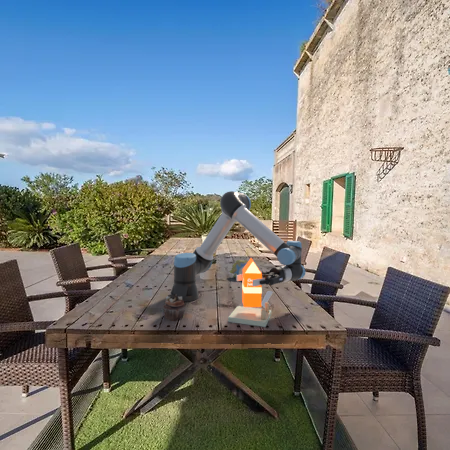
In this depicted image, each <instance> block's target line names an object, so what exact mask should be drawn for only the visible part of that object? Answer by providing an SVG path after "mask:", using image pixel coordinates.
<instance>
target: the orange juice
mask: <svg viewBox="0 0 450 450" xmlns="http://www.w3.org/2000/svg"><path fill="white" fill-rule="evenodd" d="M247 261H248V263H247V264H246V265H245V267H244V268H243V280H242V283H241V284H242V285H241V289H242V292H241V302H242V306H243V307H252V308H256V307H260V308H262V306H261V301H262V293H263V291H262V290H263V289H262V288H263V285H259V286H253V280H254V279H262V278H263V276H262V273H261V272H260V271H261V270H260V269H259V267H258V266H257V264H256V262H254V259H253V258H252V257H250V258H249V260H247Z"/></svg>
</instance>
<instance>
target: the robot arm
mask: <svg viewBox="0 0 450 450" xmlns="http://www.w3.org/2000/svg"><path fill="white" fill-rule="evenodd" d="M220 197H221V198H220V200H219V205H220V209H221V214H220V216H219V217H218V219H217V221H216V222H215V223H214V225H213V226H212V228H211V230H210V231H209V233H208V234H207V236H206V237H205V238H204V240H203V242H202V243H201V245H200V246H196V248H195V250H194V251H193V252H182V253H179V254H178V253H177V254H176V255H175V256H174V258H173V259H174V260H173V285H172V287H171V290H170V294H169V295H173V296H174V294H177V296H181V297H182V300H183V301H184V302H193V301H195V300H198V299H199V290H198V287H197V283H196V280H197V279H196V278H197V277H196V276H197V275H200V274H205V272H208V270H209V269H211V267H212V264H213V260H214V254H215V253H216V251H217V250H218V248H219V246H220V245H221V243H222V242H223V240H224V239H225V238H226V236H227V235H228V233H229V231H230V230H231V229H232V228H233V225H234V224H235V222H238V223H239V224H240V225H241V226H242V227H243V228H244V229H245V230H247V231H248V233H250V234H251V235H252V236H253V237H255V239H257V240H258V241H259V243H261V244H262V245H263V246H264V248H266V249H268V250H269V251H270V252H271V253H272V254H273V255H275V257H276V258H277V262H278V263H280V264H281V265H283V266H276V267H271V268H270V269H269V271H263V270H260V272H261V273H262V279H254V280H253V286H259V285H262V286H264V285H269V286H274V285H276V284H281V283H283V284H285V283H286V282H291V281H292V282H293V281H298V280H301V279H303V278H304V277H305V276H306V273H307V272H306V269H305V266H304V265H302V253H303V251H302V250H303V247H302V242H301V241H299V240H287V241H284V240H283V239H282V238H281V237H279V236H278V234H276V233H275V232H274V231H273V230H272V229H270V227H268V226H267V225H266V224H265V223H264V222H263V221H262V220H261V219H259V218H258V217H257V216H256V215H255V214H253V212H251V211H250V210H251V208H252V207H251V206H252V202H251V198H250V197H249V196H248V195H247V194H245V193H243V192H241V191H239V192H238V191H232V190H231V191H226V192H225V193H224V194H223V195H222V196H220ZM235 279H236V280H235V281H236V282H241V281H242V280H243V274H240V275H236V278H235ZM173 296H172V297H173Z"/></svg>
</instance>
